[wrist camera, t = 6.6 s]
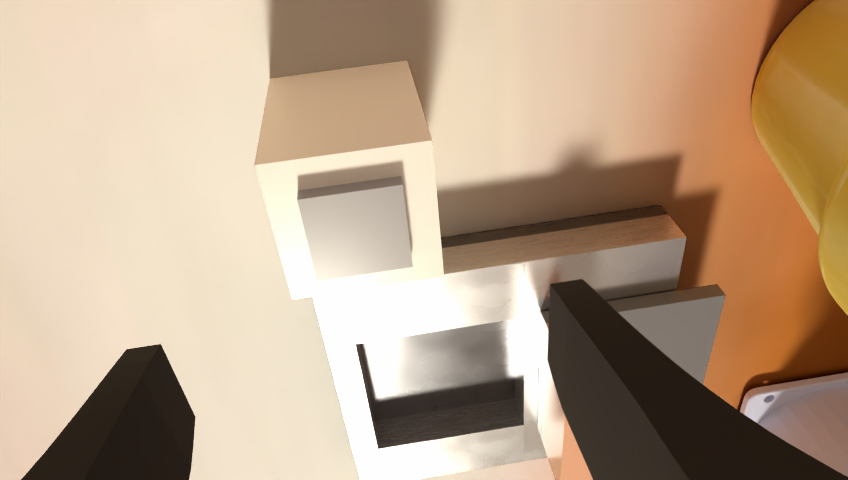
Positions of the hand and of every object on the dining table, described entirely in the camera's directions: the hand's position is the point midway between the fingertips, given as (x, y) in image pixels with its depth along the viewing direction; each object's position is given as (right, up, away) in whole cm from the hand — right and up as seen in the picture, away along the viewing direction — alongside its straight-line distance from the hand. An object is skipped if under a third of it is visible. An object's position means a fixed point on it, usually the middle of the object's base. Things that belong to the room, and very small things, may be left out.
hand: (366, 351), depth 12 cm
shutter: (+9, -3, +12) cm, 15 cm away
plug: (-1, +5, +8) cm, 10 cm away
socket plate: (+4, -2, +14) cm, 14 cm away
